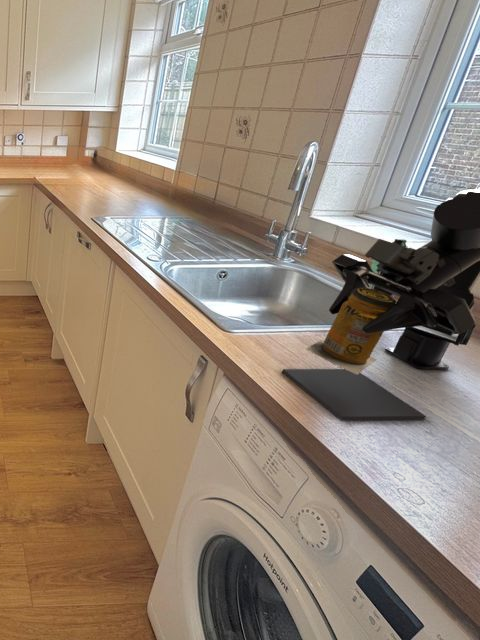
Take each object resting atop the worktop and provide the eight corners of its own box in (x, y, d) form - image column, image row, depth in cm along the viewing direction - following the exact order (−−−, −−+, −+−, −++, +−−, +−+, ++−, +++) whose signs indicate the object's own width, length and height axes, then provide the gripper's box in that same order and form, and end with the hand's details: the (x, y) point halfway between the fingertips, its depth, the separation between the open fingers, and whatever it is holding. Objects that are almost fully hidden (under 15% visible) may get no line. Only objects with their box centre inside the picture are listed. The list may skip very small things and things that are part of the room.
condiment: (376, 360, 70) (410, 299, 65) (356, 375, 66) (392, 311, 61) (325, 337, 75) (353, 280, 70) (304, 350, 71) (333, 290, 66)
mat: (353, 372, 76) (354, 368, 75) (424, 419, 64) (426, 415, 64) (281, 372, 75) (282, 369, 74) (340, 420, 63) (342, 416, 63)
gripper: (361, 209, 71) (281, 267, 74) (496, 246, 53) (383, 319, 57) (386, 252, 74) (308, 306, 77) (521, 300, 57) (412, 366, 60)
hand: (346, 321), depth 68 cm, fingers closed on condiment, 6 cm apart
